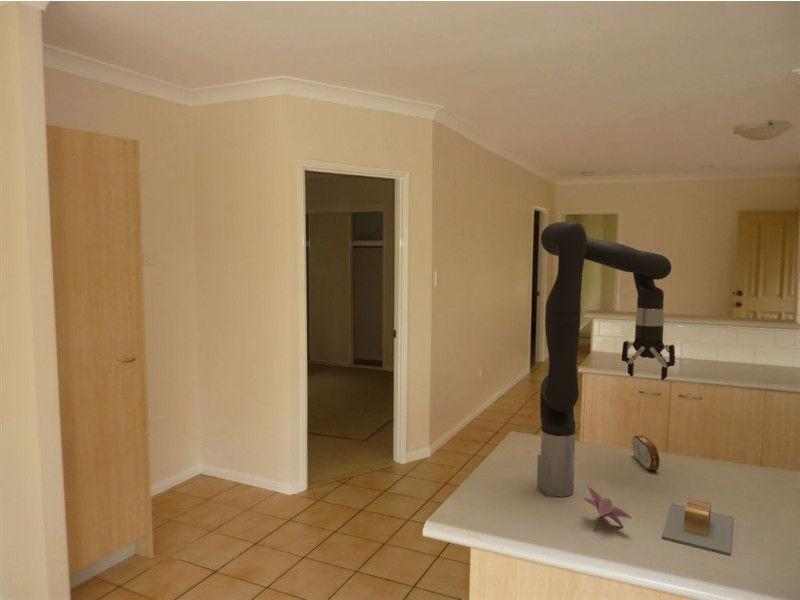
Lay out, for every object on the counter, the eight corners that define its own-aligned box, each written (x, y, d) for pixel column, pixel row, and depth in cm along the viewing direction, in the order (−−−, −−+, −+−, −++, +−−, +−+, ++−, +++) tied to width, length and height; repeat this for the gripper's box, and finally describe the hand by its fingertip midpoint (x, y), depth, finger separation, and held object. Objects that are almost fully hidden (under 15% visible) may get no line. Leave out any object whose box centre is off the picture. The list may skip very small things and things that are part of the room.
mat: (730, 555, 127) (730, 552, 127) (661, 538, 134) (661, 536, 134) (732, 518, 144) (733, 516, 144) (672, 505, 151) (672, 503, 151)
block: (710, 522, 141) (707, 535, 134) (687, 516, 144) (683, 530, 137) (711, 502, 140) (708, 515, 134) (688, 497, 143) (684, 510, 136)
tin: (660, 474, 172) (661, 447, 171) (649, 474, 172) (650, 447, 171) (640, 456, 187) (641, 431, 186) (630, 456, 187) (631, 431, 186)
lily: (633, 545, 133) (642, 505, 136) (588, 528, 132) (599, 487, 134) (606, 536, 144) (615, 499, 147) (564, 520, 143) (574, 483, 146)
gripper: (621, 323, 166) (619, 377, 168) (674, 326, 159) (672, 383, 161) (626, 320, 173) (624, 372, 174) (677, 323, 165) (675, 378, 167)
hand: (647, 377), depth 167 cm, fingers open, 8 cm apart
